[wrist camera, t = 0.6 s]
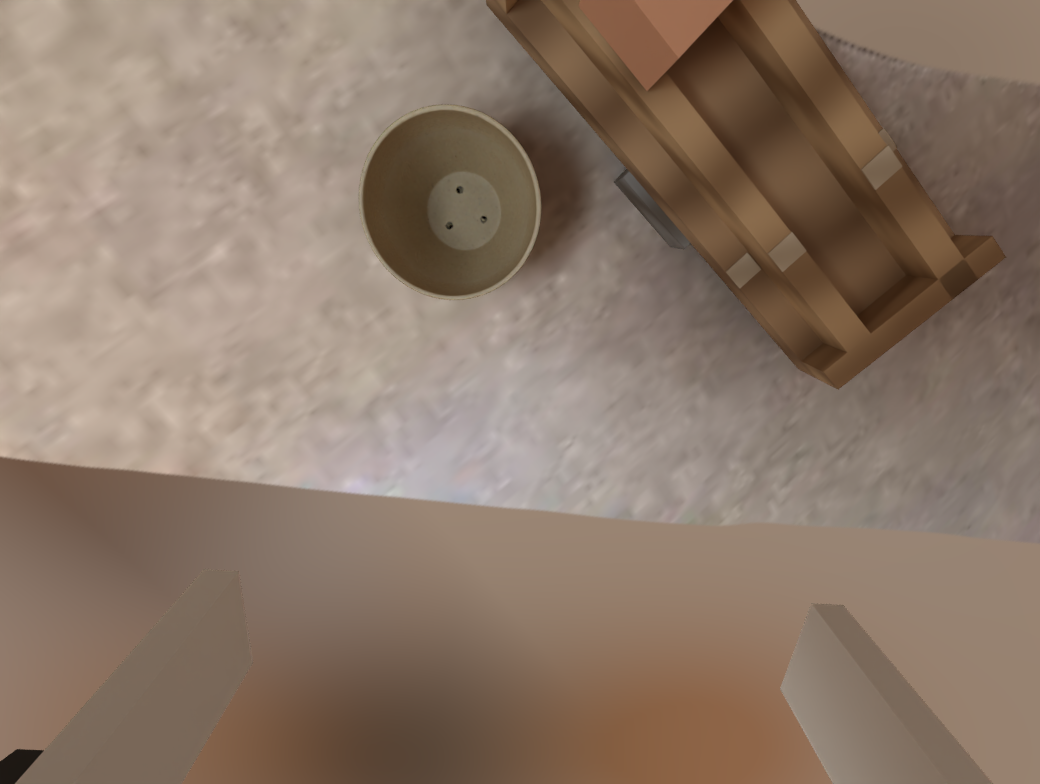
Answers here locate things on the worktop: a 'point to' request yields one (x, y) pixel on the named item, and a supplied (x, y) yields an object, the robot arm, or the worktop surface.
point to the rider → (651, 30)
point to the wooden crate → (768, 177)
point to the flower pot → (449, 202)
